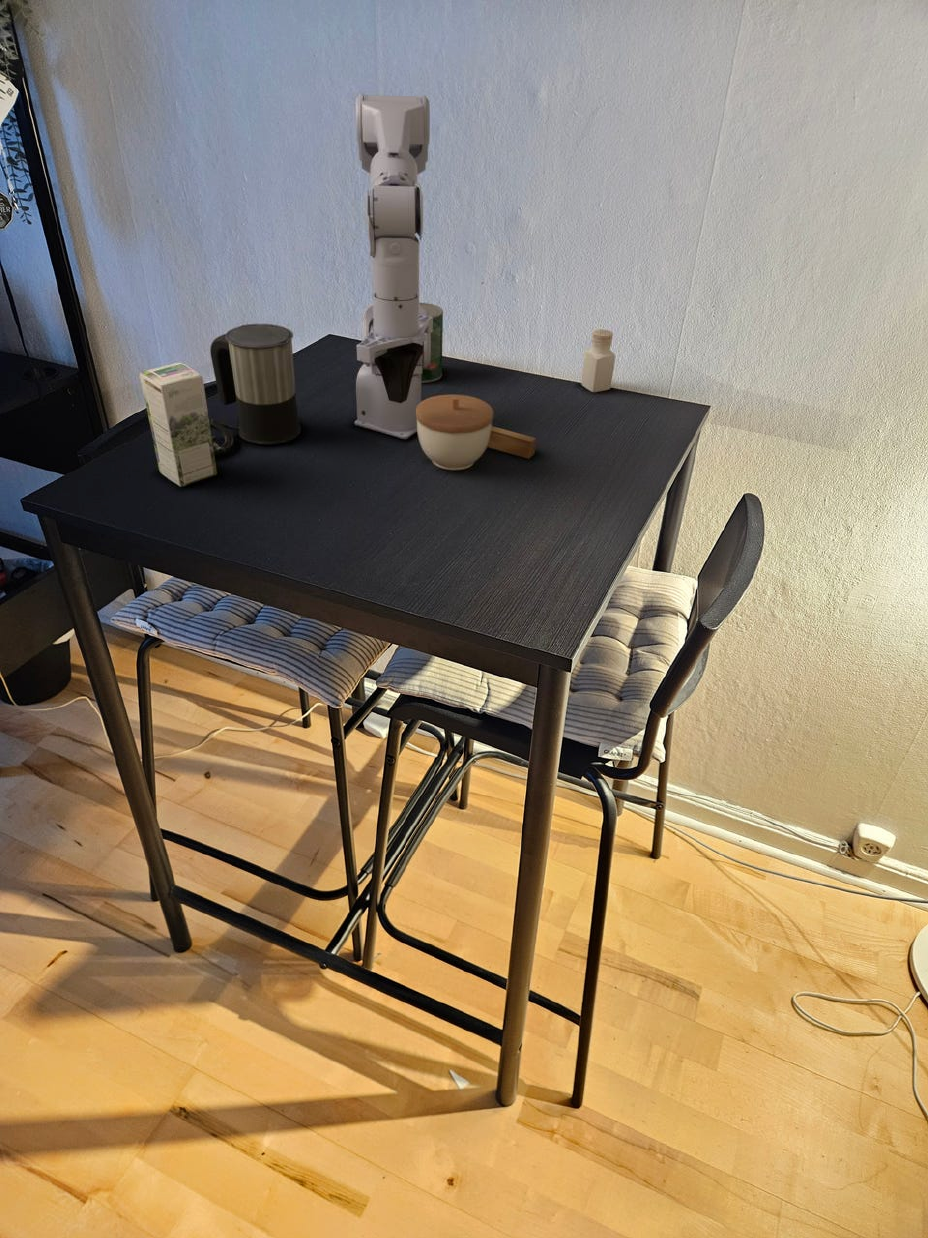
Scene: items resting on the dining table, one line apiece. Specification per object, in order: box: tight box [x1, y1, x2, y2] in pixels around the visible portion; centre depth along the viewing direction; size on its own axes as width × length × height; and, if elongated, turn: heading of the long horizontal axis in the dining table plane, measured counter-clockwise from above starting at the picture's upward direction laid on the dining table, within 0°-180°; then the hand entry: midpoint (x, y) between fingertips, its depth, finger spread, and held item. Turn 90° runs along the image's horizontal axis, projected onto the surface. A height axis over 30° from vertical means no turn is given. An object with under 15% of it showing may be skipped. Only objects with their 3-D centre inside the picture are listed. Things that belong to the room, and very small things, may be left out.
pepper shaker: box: [580, 328, 616, 393], centre depth 140 cm, size 4×4×10 cm
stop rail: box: [487, 425, 537, 459], centre depth 124 cm, size 16×2×3 cm, turn 60°
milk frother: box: [209, 323, 302, 456], centre depth 118 cm, size 14×16×15 cm
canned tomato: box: [419, 302, 444, 384], centre depth 141 cm, size 8×8×11 cm
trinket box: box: [416, 393, 494, 471], centre depth 117 cm, size 11×11×9 cm
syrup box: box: [139, 361, 218, 488], centre depth 110 cm, size 6×6×14 cm
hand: (397, 400), depth 111 cm, fingers closed
